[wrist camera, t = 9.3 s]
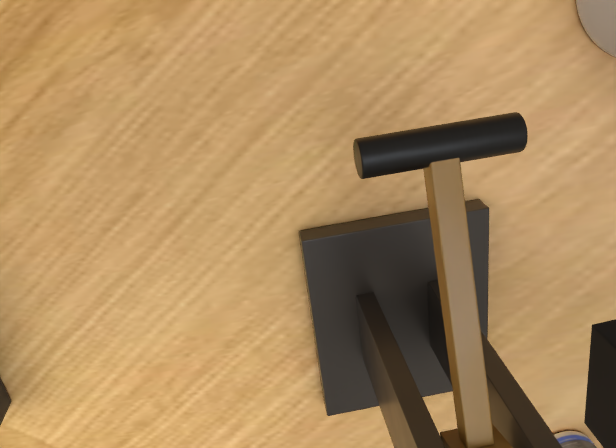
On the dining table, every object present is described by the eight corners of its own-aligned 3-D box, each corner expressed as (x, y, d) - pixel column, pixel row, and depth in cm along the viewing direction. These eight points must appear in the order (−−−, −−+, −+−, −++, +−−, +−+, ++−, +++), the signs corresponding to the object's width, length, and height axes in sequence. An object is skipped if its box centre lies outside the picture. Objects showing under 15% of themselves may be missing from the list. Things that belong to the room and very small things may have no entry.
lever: (349, 139, 21) (360, 138, 19) (502, 113, 22) (532, 109, 20) (403, 502, 24) (420, 542, 21) (541, 473, 24) (573, 509, 22)
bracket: (298, 230, 30) (352, 419, 18) (479, 198, 31) (651, 358, 19) (323, 401, 36) (379, 638, 23) (478, 370, 36) (612, 585, 24)
